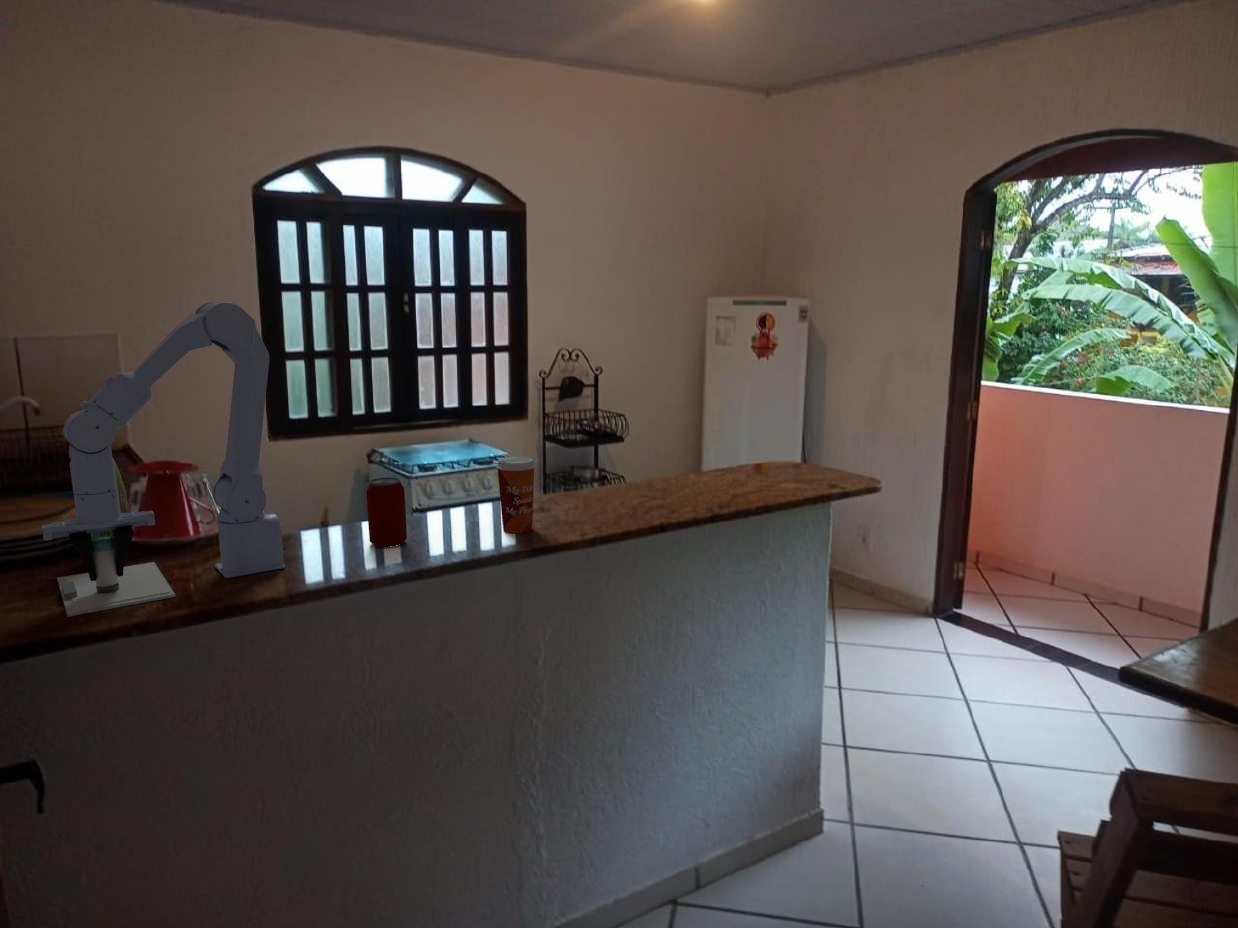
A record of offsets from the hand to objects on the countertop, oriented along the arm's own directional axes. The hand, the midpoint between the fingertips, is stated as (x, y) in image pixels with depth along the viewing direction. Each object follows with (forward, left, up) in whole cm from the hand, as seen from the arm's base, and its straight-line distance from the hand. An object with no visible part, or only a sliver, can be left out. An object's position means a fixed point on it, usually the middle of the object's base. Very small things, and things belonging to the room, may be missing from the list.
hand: (106, 576), depth 132 cm
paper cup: (-69, +5, -3) cm, 69 cm away
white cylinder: (0, 0, -2) cm, 2 cm away
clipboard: (-1, -3, -3) cm, 4 cm away
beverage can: (-45, -1, -3) cm, 45 cm away
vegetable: (-3, -22, -3) cm, 22 cm away
